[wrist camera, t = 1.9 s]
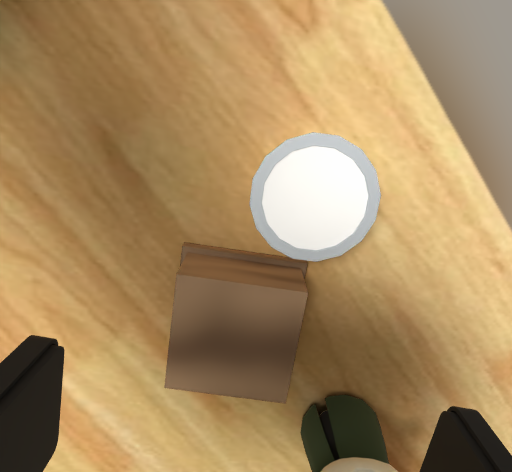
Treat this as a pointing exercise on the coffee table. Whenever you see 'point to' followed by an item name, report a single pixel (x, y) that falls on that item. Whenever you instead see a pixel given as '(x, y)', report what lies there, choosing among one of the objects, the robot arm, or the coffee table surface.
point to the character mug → (344, 437)
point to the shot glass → (315, 197)
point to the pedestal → (235, 323)
